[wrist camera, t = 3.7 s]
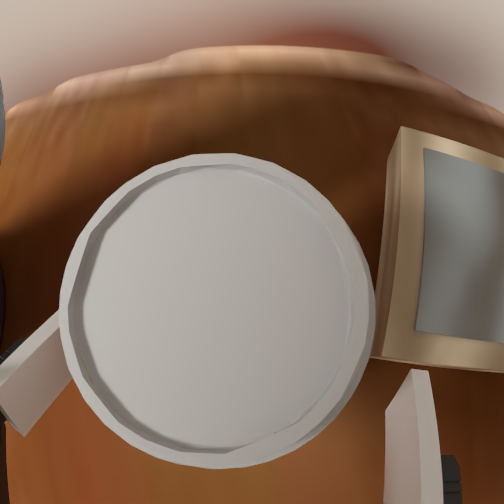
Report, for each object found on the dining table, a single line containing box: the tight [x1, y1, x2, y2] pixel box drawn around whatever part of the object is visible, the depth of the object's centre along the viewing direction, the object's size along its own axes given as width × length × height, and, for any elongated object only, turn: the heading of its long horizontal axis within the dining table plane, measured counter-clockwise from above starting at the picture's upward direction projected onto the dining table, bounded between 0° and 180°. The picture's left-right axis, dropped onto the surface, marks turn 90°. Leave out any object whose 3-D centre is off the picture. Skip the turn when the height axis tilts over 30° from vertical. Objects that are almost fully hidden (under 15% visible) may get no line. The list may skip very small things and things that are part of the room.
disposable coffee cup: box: [59, 153, 375, 469], centre depth 14 cm, size 10×10×12 cm
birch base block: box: [370, 126, 504, 373], centre depth 17 cm, size 14×14×4 cm
